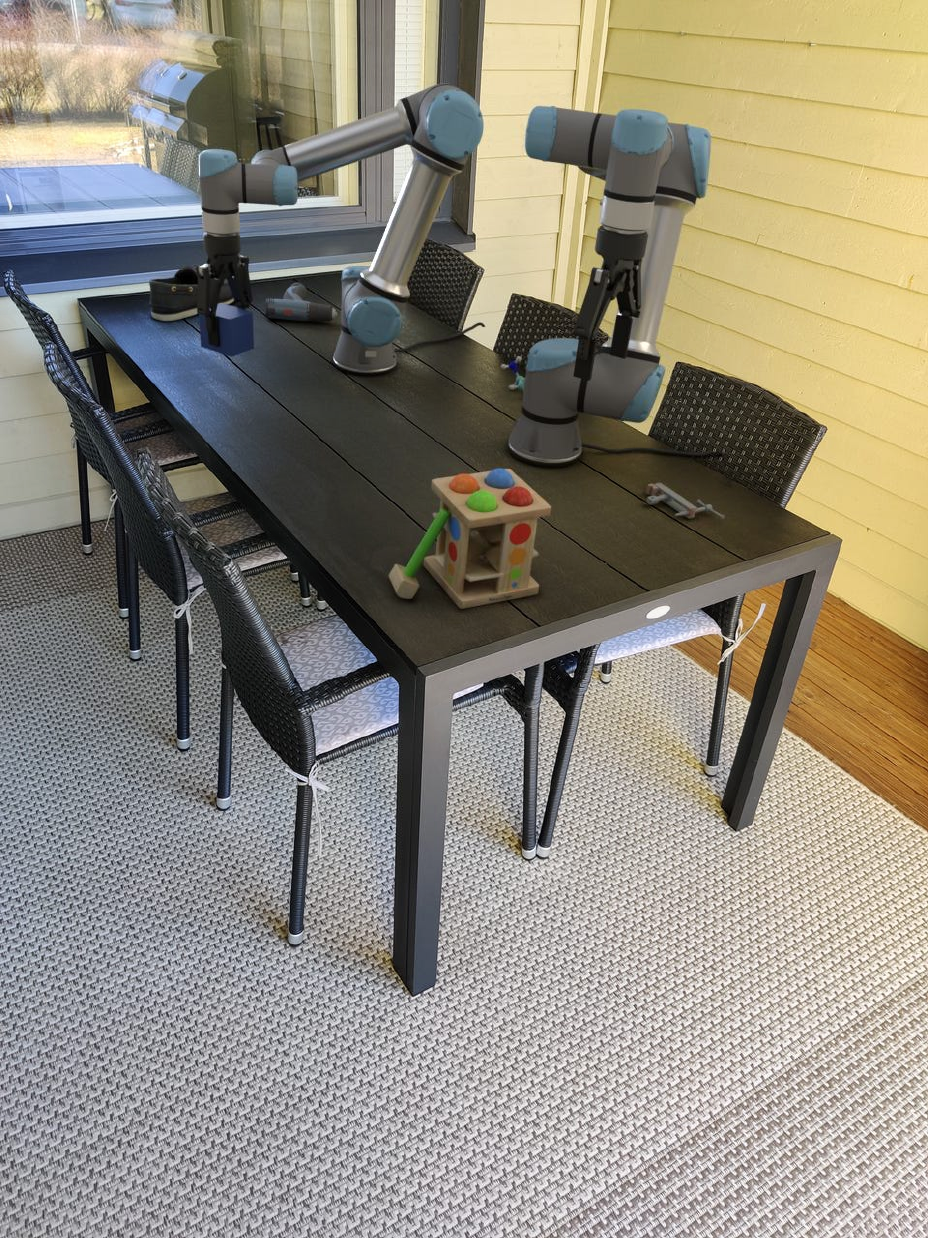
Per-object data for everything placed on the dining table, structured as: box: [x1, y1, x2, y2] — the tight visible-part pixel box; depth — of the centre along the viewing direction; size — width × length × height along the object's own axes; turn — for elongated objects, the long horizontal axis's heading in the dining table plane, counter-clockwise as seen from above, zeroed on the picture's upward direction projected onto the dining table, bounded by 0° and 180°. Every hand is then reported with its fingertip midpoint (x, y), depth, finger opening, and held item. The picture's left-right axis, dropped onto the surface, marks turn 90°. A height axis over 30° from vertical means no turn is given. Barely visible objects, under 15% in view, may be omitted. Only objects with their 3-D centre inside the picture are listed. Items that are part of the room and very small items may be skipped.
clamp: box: [645, 482, 726, 521], centre depth 187 cm, size 15×2×10 cm
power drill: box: [264, 282, 338, 322], centre depth 265 cm, size 5×19×20 cm
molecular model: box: [500, 355, 525, 394], centre depth 230 cm, size 12×10×10 cm
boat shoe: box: [148, 265, 235, 322], centre depth 262 cm, size 13×33×10 cm, turn 147°
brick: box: [198, 303, 255, 358], centre depth 215 cm, size 7×9×8 cm
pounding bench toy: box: [388, 468, 552, 610], centre depth 154 cm, size 23×14×18 cm, turn 116°
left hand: (227, 340), depth 216 cm, fingers closed on brick, 7 cm apart
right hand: (600, 367), depth 157 cm, fingers open, 13 cm apart
